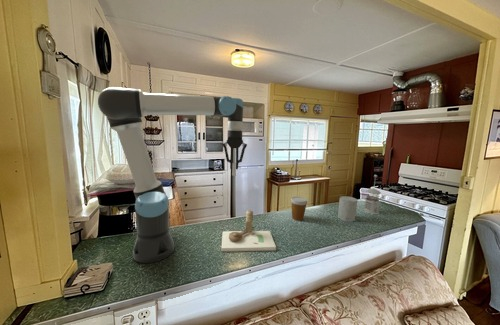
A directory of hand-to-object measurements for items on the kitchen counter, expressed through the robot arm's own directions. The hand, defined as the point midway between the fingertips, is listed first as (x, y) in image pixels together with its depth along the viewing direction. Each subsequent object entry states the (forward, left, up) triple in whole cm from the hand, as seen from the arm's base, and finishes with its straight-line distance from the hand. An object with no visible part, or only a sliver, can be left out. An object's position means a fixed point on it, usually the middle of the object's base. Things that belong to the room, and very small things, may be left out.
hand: (234, 175), depth 106 cm
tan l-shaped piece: (+4, -17, -24) cm, 30 cm away
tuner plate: (+7, -20, -26) cm, 34 cm away
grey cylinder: (+68, +4, -27) cm, 73 cm away
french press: (+91, +13, -27) cm, 96 cm away
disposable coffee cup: (+38, +4, -27) cm, 47 cm away
